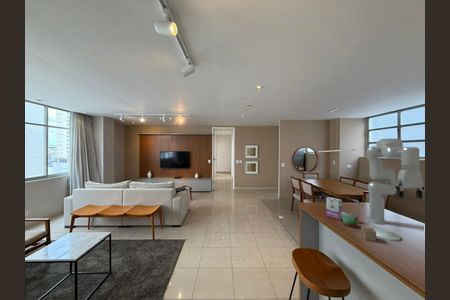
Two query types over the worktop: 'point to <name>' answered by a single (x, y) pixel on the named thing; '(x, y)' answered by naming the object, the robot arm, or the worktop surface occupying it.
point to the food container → (350, 219)
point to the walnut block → (368, 234)
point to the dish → (387, 235)
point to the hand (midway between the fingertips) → (409, 197)
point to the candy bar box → (334, 208)
